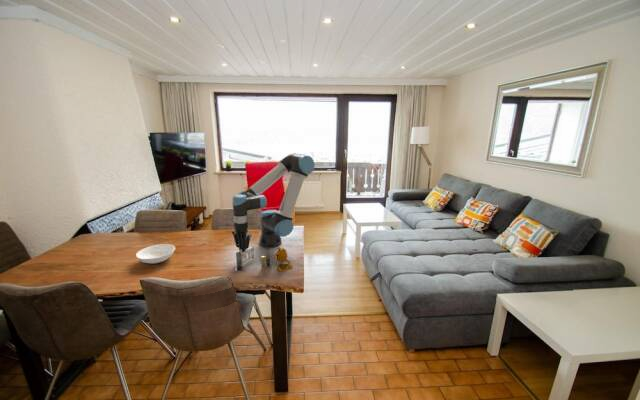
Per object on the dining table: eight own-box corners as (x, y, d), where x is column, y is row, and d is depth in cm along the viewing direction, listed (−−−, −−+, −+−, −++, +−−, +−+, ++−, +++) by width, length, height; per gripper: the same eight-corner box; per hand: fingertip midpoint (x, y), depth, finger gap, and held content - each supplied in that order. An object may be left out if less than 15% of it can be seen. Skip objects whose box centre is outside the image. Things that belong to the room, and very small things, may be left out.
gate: (242, 267, 150) (241, 255, 148) (240, 266, 150) (239, 254, 148) (254, 257, 161) (253, 246, 159) (252, 257, 161) (251, 246, 159)
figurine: (273, 264, 154) (273, 245, 151) (292, 263, 155) (292, 244, 152) (273, 272, 146) (272, 252, 143) (292, 271, 147) (292, 251, 144)
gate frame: (235, 267, 149) (234, 251, 147) (270, 263, 154) (269, 248, 152) (235, 271, 145) (233, 255, 143) (270, 267, 150) (270, 251, 148)
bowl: (135, 272, 143) (133, 262, 142) (139, 257, 160) (138, 247, 159) (176, 264, 152) (175, 254, 151) (176, 250, 169) (175, 241, 168)
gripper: (227, 221, 150) (230, 258, 157) (245, 225, 145) (247, 264, 151) (236, 217, 156) (239, 253, 163) (254, 221, 151) (255, 258, 158)
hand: (243, 258), depth 157 cm, fingers closed
